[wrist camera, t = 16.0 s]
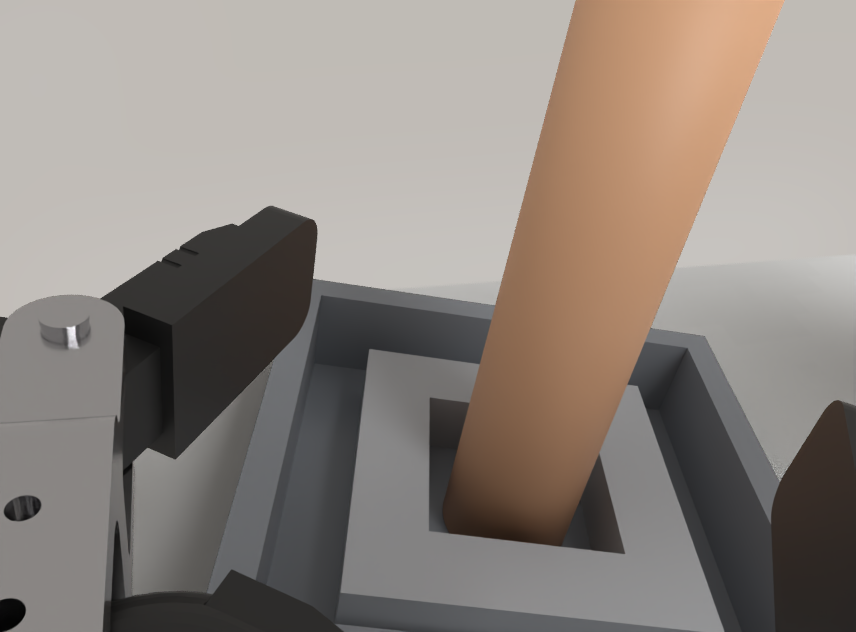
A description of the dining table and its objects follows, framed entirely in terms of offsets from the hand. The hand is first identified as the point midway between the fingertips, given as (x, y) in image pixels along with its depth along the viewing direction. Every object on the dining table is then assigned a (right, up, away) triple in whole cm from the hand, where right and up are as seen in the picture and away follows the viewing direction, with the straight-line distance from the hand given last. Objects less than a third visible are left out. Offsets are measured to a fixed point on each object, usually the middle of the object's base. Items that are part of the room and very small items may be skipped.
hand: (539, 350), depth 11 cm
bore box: (+1, -7, +13) cm, 15 cm away
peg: (+1, -6, +13) cm, 14 cm away
